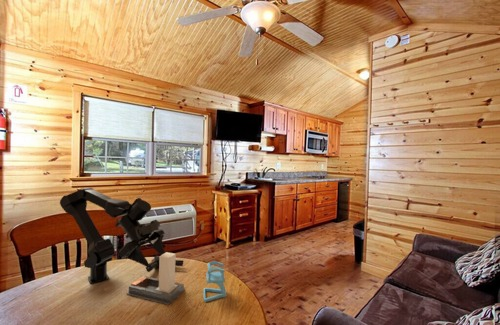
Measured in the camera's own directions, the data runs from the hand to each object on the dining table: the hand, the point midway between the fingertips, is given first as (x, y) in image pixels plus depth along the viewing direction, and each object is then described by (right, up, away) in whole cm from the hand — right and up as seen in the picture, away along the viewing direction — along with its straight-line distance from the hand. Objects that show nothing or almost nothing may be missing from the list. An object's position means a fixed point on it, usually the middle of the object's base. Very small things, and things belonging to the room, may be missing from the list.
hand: (156, 260), depth 90 cm
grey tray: (0, -12, 0) cm, 12 cm away
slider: (+4, -12, -1) cm, 13 cm away
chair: (+22, -13, -1) cm, 25 cm away
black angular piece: (-3, -12, +21) cm, 24 cm away
